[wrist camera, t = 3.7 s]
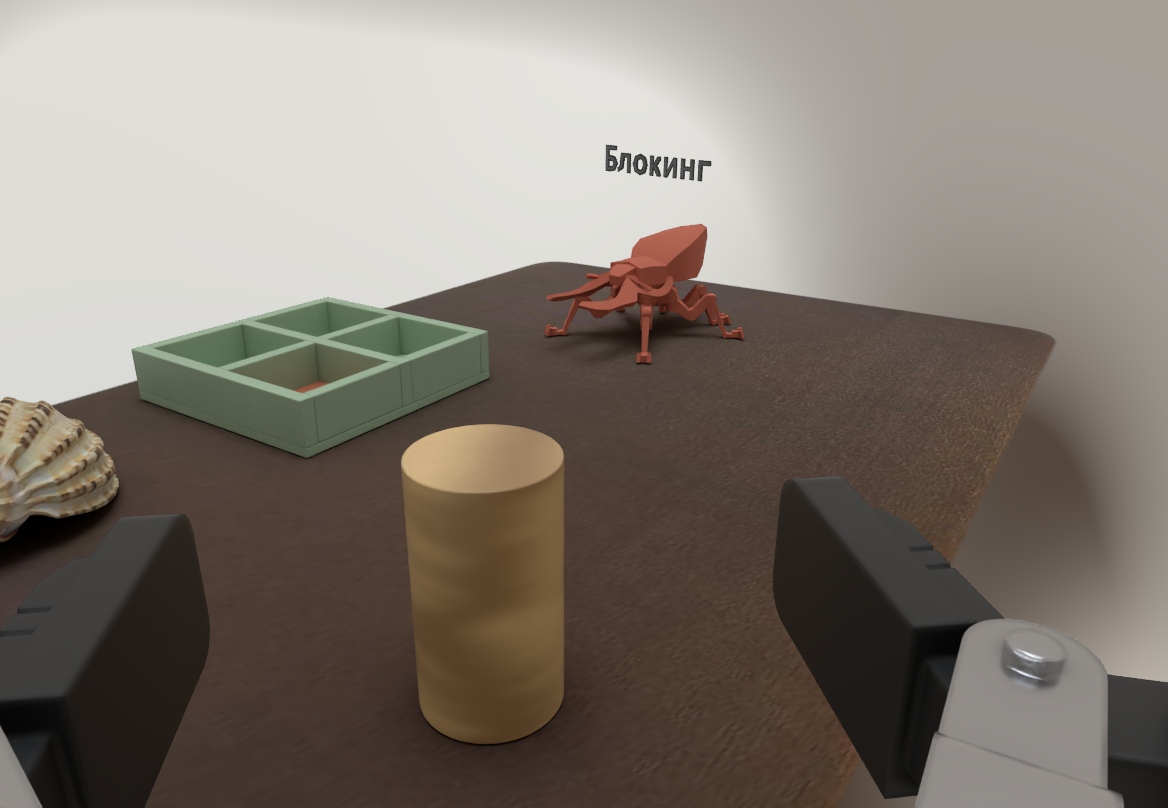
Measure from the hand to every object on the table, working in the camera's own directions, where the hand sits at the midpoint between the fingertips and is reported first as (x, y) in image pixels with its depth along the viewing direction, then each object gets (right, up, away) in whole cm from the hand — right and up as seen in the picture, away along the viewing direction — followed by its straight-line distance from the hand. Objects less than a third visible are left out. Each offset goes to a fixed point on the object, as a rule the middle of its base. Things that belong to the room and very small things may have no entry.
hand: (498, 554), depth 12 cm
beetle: (+5, +7, +50) cm, 50 cm away
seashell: (-23, -3, +25) cm, 34 cm away
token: (-2, -7, +15) cm, 16 cm away
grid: (-14, +3, +39) cm, 42 cm away
